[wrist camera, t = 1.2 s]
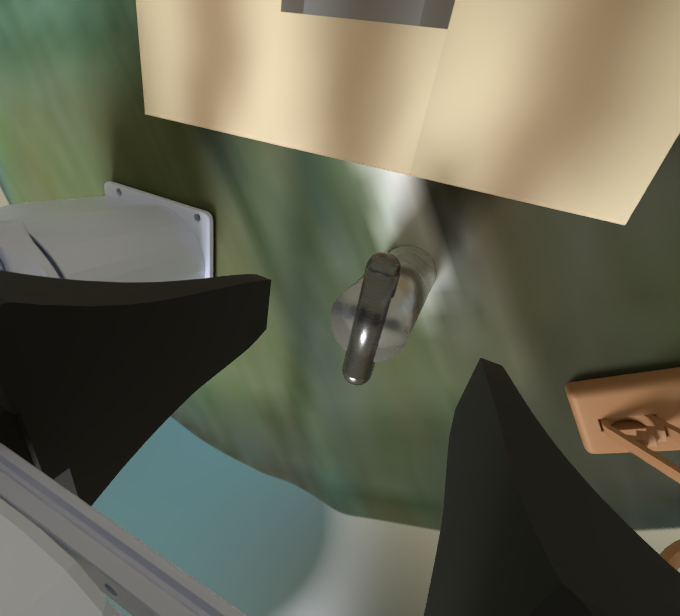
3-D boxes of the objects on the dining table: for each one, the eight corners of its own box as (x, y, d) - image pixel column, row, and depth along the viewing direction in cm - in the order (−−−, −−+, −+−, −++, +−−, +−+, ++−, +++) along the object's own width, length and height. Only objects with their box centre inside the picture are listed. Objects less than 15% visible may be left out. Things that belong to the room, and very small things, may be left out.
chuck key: (370, 308, 20) (315, 375, 13) (394, 214, 17) (340, 244, 11) (419, 325, 19) (384, 405, 13) (452, 230, 16) (428, 271, 10)
